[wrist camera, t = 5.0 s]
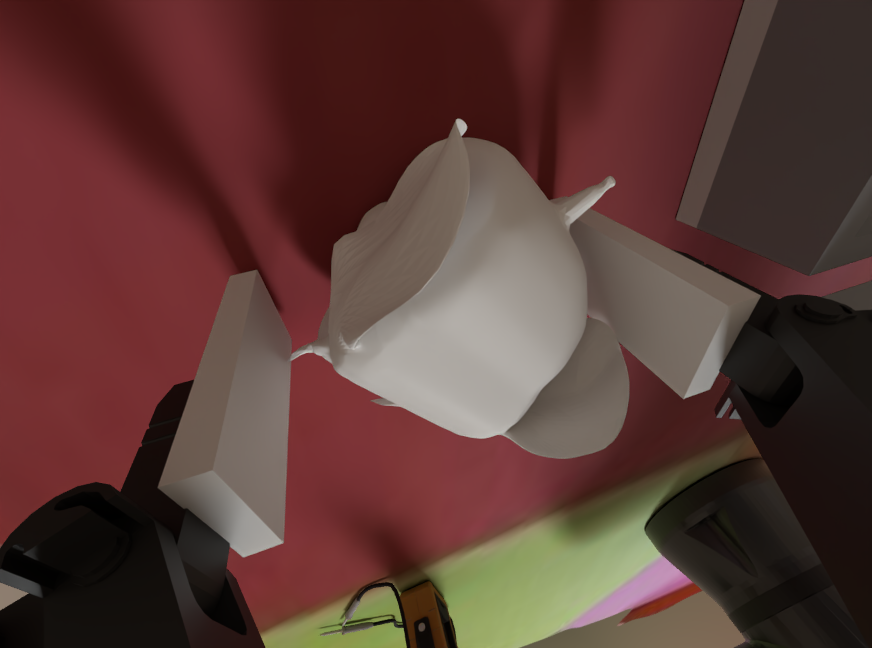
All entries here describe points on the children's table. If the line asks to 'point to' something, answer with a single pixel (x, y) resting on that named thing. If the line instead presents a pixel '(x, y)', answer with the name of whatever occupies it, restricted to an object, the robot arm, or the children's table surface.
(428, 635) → the multimeter
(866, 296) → the case lid
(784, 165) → the case
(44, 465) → the children's table surface
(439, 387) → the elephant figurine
